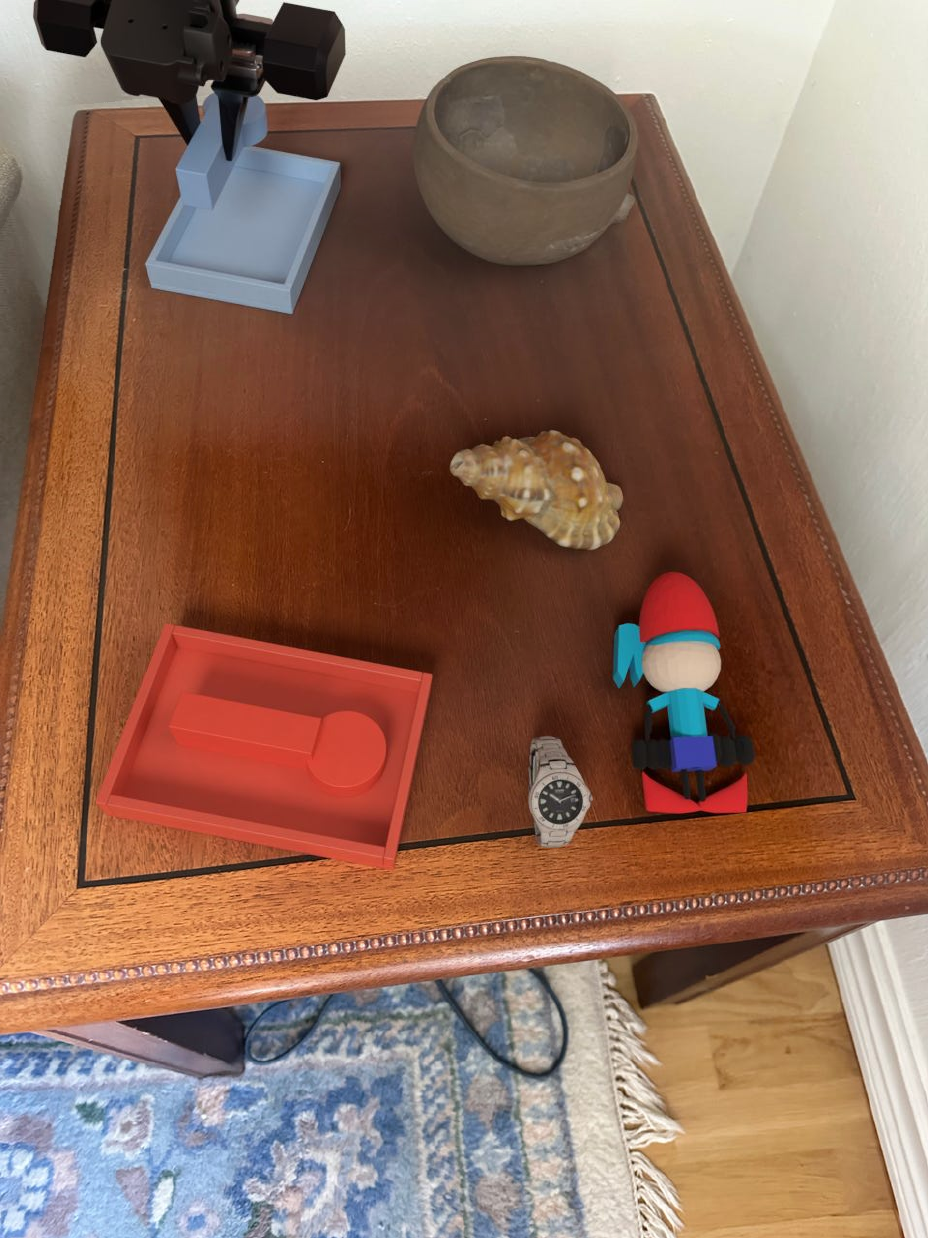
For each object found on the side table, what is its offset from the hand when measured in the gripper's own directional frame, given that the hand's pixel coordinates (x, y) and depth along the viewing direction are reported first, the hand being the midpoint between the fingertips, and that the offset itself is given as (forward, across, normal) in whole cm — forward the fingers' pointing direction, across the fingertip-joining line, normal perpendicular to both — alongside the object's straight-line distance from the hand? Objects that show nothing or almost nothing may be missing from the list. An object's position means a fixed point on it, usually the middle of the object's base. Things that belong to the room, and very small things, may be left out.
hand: (214, 154), depth 65 cm
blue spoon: (+1, 0, +1) cm, 2 cm away
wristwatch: (+9, +31, -40) cm, 51 cm away
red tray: (+9, +15, -40) cm, 44 cm away
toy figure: (+9, +38, -32) cm, 51 cm away
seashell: (+9, +28, -20) cm, 35 cm away
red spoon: (+8, +15, -40) cm, 44 cm away
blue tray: (+9, +1, +3) cm, 9 cm away
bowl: (+9, +22, +10) cm, 26 cm away
